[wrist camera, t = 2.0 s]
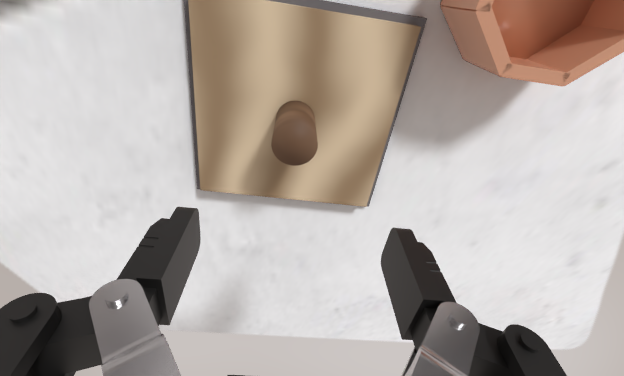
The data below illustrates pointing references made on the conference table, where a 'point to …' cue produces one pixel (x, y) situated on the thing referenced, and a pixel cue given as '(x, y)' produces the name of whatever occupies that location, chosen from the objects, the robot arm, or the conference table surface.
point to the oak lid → (294, 98)
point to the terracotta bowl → (537, 36)
